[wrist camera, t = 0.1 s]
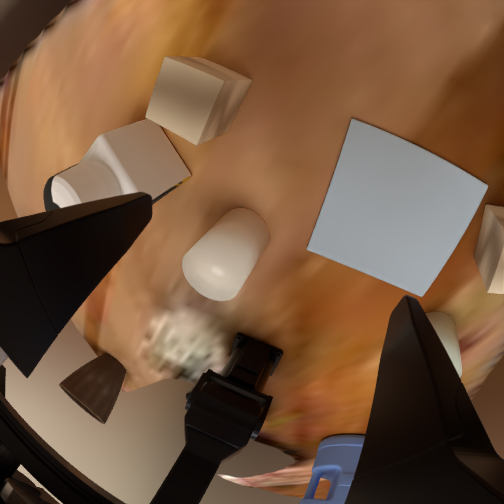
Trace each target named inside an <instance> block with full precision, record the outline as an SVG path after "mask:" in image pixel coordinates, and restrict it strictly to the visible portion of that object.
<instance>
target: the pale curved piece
mask: <svg viewBox="0 0 504 504" xmlns="http://www.w3.org/2000/svg"><path fill="white" fill-rule="evenodd" d="M425 314H426V315H427V317H428V319H429V320H430V322H431V324H432V326H433V327H434V329H435V331H436V333H437V334H438V336H439V338H440V340H441V342H442V344H443V345H444V347H445V349H446V351H447V353H448V355H449V357H450V359H451V361H452V363H453V365H454V367H455V369H456V371H457V373H458V375H459V377H461V374H462V366H461V357H460V349H459V342H458V336H457V329H456V324H455V321H454V319H453V318H452V317H451V316H450V315H448V314H446V313H443V312H429V313H425Z"/></svg>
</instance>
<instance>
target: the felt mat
mask: <svg viewBox="0 0 504 504" xmlns="http://www.w3.org/2000/svg"><path fill="white" fill-rule="evenodd" d="M487 188H488V185H487V184H485V183H484V182H482V181H480V180H479V179H477V178H476V177H474V176H472V175H471V174H469V173H467V172H466V171H464V170H462V169H461V168H459V167H457V166H455V165H453V164H452V163H450V162H448V161H446V160H444V159H443V158H441V157H439V156H437V155H435V154H433V153H431V152H429V151H427V150H425V149H423V148H421V147H419V146H417V145H415V144H413V143H411V142H408V141H406V140H404V139H402V138H400V137H397V136H395V135H393V134H391V133H388V132H386V131H384V130H381V129H379V128H376V127H374V126H371V125H369V124H366V123H364V122H361V121H358V120H356V119H353V118H352V119H351V123H350V126H349V129H348V132H347V135H346V139H345V142H344V145H343V148H342V151H341V154H340V157H339V160H338V163H337V166H336V169H335V172H334V175H333V178H332V181H331V184H330V187H329V189H328V192H327V195H326V198H325V201H324V204H323V206H322V209H321V212H320V215H319V218H318V220H317V223H316V226H315V229H314V231H313V234H312V237H311V239H310V242H309V245H308V247H307V250H309V251H311V252H314V253H316V254H319V255H321V256H324V257H326V258H329V259H331V260H334V261H336V262H339V263H341V264H344V265H346V266H349V267H351V268H354V269H356V270H359V271H361V272H363V273H366V274H368V275H371V276H373V277H376V278H378V279H380V280H383V281H385V282H388V283H390V284H392V285H395V286H397V287H400V288H402V289H404V290H407V291H409V292H411V293H414V294H416V295H419V296H421V297H422V296H423V295H424V294H425V292H426V291H427V289H428V288H429V287H430V285H431V284H432V282H433V281H434V279H435V278H436V277H437V275H438V274H439V272H440V271H441V269H442V268H443V266H444V265H445V263H446V261H447V260H448V258H449V257H450V255H451V254H452V252H453V250H454V249H455V247H456V246H457V244H458V242H459V241H460V239H461V237H462V235H463V234H464V232H465V230H466V228H467V227H468V225H469V223H470V221H471V220H472V218H473V216H474V214H475V212H476V210H477V208H478V206H479V204H480V202H481V200H482V198H483V196H484V194H485V192H486V190H487Z"/></svg>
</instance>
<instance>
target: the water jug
mask: <svg viewBox="0 0 504 504" xmlns="http://www.w3.org/2000/svg"><path fill="white" fill-rule="evenodd" d="M364 439H365V435H336V436H331V437H328V438H326V439H324V440H323V441H322V442H321V443H320V445H319V448H318V451H317V452H318V453H317V456H316V459H315V462H314V465H313V468H312V472H313V474H312V477H311V480H310V482H309V485H308V488H307V490H306V493H305V496H304V498H303V499H301V500H300V503H299V504H344V503H345V500H346V498H347V495H348V492H349V489H350V486H351V483H352V480H353V477H354V474H355V471H356V468H357V464H358V461H359V457H360V454H361V450H362V447H363V443H364ZM320 477H321V478H324V479H327V480H329V481H330V482H331V486H330V489H329V492H328V495H327V498H326V500H322V499H314V494H315V491H316V488H317V486H318V483H319V480H320Z"/></svg>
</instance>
